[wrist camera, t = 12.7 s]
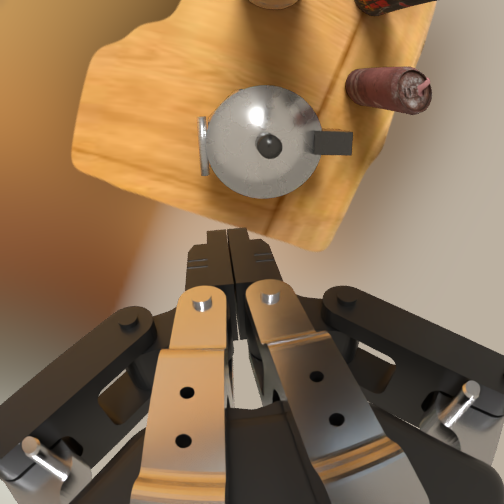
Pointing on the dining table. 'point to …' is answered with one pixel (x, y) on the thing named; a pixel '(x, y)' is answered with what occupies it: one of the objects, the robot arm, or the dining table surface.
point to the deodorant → (386, 5)
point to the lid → (266, 142)
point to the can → (390, 89)
